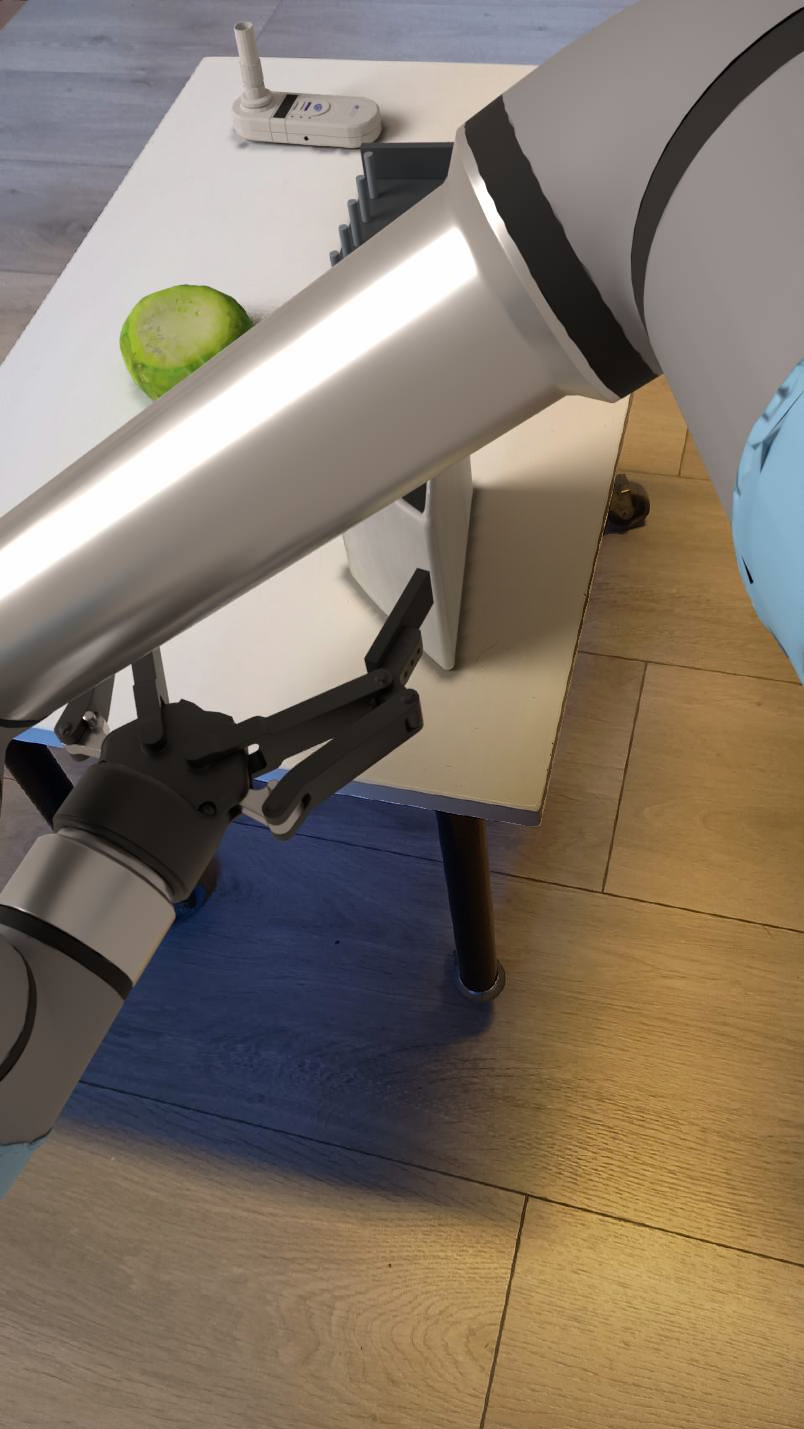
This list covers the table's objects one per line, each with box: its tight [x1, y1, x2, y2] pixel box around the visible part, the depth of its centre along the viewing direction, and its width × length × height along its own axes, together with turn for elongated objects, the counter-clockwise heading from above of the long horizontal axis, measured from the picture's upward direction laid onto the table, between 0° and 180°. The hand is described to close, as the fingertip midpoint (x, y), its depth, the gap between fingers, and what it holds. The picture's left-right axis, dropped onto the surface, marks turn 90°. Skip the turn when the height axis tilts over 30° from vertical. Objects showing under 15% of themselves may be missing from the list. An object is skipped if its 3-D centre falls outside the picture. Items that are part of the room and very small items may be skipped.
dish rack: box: [328, 141, 454, 268], centre depth 93 cm, size 20×21×6 cm
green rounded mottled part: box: [119, 283, 255, 402], centre depth 90 cm, size 12×11×5 cm
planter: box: [341, 455, 474, 671], centre depth 69 cm, size 16×8×19 cm, turn 174°
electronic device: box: [230, 20, 382, 149], centre depth 106 cm, size 5×10×15 cm
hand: (317, 553), depth 63 cm, fingers open, 13 cm apart
